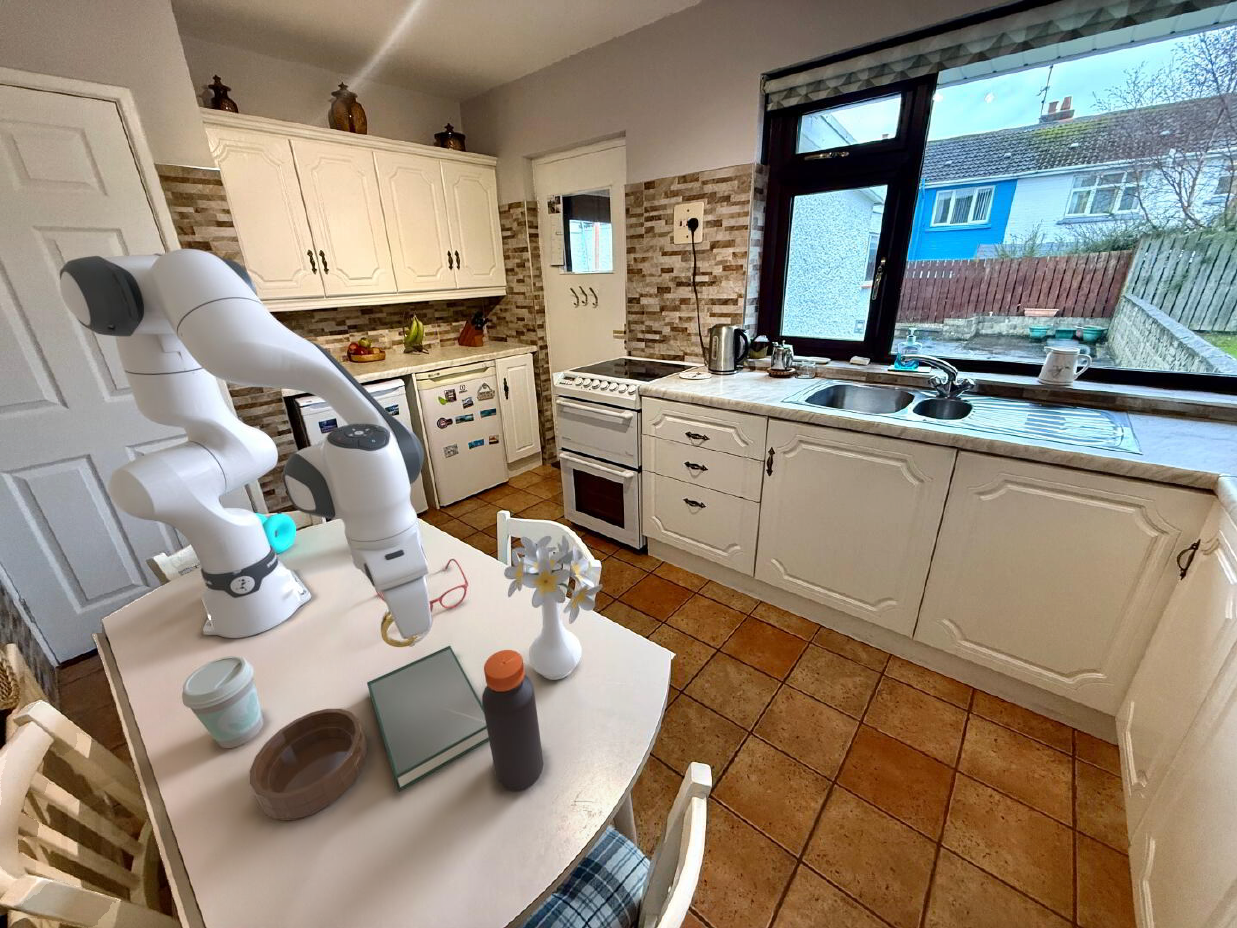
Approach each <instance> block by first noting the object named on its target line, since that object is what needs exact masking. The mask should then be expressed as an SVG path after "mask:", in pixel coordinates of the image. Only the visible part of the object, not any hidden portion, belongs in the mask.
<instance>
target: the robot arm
mask: <svg viewBox="0 0 1237 928" xmlns="http://www.w3.org/2000/svg"><path fill="white" fill-rule="evenodd" d="M59 280H60V282H59V288H60V294H61V297H62V299H63V302H64V304H65V305H66V307H67V308H68V310H69V312H70V313H71V314H72V315H73V316H75V319H77V321H78V322H79V323H80V324H81V325H82V326H83V327H85V328H86V329H88V330H89V331H92V332H94V333H96V334H98V335H101V336H108V337H114V338H115V342H116V343H115V344H116V347H117V351H118V354H119V355H118V356H119V359H120V362H121V365H122V369H123V371H124V374H125V376H126V380H127V382H128V385H129V388H130V391H131V393H132V396H133V399H134V401H135V404H136V406H137V409H138V411H139V412H140V413H141V414H142V415H143V416H144V418H146V419H148V420H149V421H151V422H153V423H156V424H159V425H161V426H167V427H173V428H181V429H184V431H185V433H186V435H187V441H185V442H182V443H179V444H176V445H172V446H169V447H165V448H163V449H160V450H156V451H152V452H149V453H147V454H144V455H141V456H139V457H138V458H135V459H133V460H131V461H129V462H127V463H126V464H124V465H122V466H119V467H118V468H116V469H115V470H113V472H112V473H111V475H110V478H109V483H108V491H109V495H110V497H111V500H112V501H113V503H114V504H115V506H117V507H118V509H120V510H121V511H122V512H124V513H125V514H128V516H129V515H130V516H132V517H134V518H137V519H141V520H144V521H145V520H146V521H154V522H159V523H162V524H166V525H168V526H169V527H172V528H174V529H175V530H177V531H178V532H180V533H181V534H182V535H183V536H184V537H185V538H186V540H187V541H188V543H189V544H190V546H191V548H192V550H193V552H194V554H195V555H196V557H197V560H198V562H199V564H200V566H201V568H200V574H201V577H202V580H203V582H204V583H205V585H206V587H207V588H206V589H205V591H204V593H203V595H202V596H201V601H202V604H203V607H204V609H205V612H206V614H207V619H206V622H205V623H204V624H203V627H202V634H203V635H204V636H221V637H223V638H226V639H227V638H229V639H240V638H246V637H251V636H255V635H258V634H261V633H263V632H266V631H268V630H271V629H273V628H275V627H276V626H279V625H280V624H282V623H284V622H285V621H286V620H287V619H289V618H290V617H291V616H293V615H294V613H295V612H296V611H297V610H298V609H299V608H300V607H301V606H303V605H305V604H306V603H307V602H308V601H310V600H311V599H312V595H311V593H310V591H309V590H308V589H307V587H306V586H305V585H304V583H303V582H302V581H301V580H300V578H299V577H298V575H297V574H296V573H295V571H293V569H287V568H286V566H285V565H284V564H283V563H282V562H281V561H280V560H279V558H278V555H277V553H276V552H275V550H274V549H273V547H272V546H271V545H269V542H268V540H267V537H266V534H265V531H264V529H263V526H262V523H261V520H260V518H259V517H258V516H257V515H256V514H255V513H256V512H253V511H251V510H249V509H247V508H240V507H223V505H222V504H221V502H220V497H221V496H222V495H224V494H227V493H229V492H231V491H234V490H237V489H239V488H241V487H243V486H246V485H248V484H251V483H254V482H255V481H257V480H259V479H260V478H262V477H263V476H265V475H266V474H267V473H269V472H271V471H272V470H274V468H276V466H277V464H278V459H279V452H278V448H277V446H276V443H275V441H274V440H273V439H272V438H271V437H270V436H269V435H268V434H267V433H265V432H264V431H262V430H261V429H259V428H256V427H254V426H250V425H248V424H246V423H244V422H243V421H241V420H240V419H238V417H236V416H235V415H234V414H233V412H232V411H231V409H230V408H229V407H228V405H227V404H226V401H225V400H224V397H223V395H222V391H221V389H220V386H219V383H218V381H217V379H220V380H221V381H224V382H227V383H231V384H233V385H238V386H243V387H250V388H273V389H284V390H291V391H292V390H293V391H298V392H304V393H308V394H311V395H314V396H315V397H318V398H320V399H321V400H323V401H324V402H325V403H327V405H328V406H330V407H331V408H332V410H333V411H334V412H336V414H338V415H339V417H340V418H341V419H342V420H343V421H344V422H345V423H346V425H343V426H339V427H336V428H335V429H332V430H331V431H330V432H328V434H326V436H325V437H324V438H323V441H322V442H319V443H316V444H313V445H310V446H307V447H304V448H301V449H300V450H297V451H296V452H294V453H292V454H290V456H289V457H288V459H287V461H286V463H285V465H284V468H283V471H282V475H281V476H282V477H281V478H282V482H283V485H284V488H285V492H286V493H287V497H288V498H289V500H290V502H291V505H292V506H293V507H294V508H295V509H296V510H297V511H299V512H301V513H304V514H307V515H311V516H314V517H319V518H323V519H329V520H333V519H335V518H338V519H340V520H341V521H342V523H343V525H344V536H345V539H346V543H347V546H348V550H349V554H350V556H351V561H352V564H353V566H354V567H355V568H356V569H357V570H360V572H361V573H362V574H363V575H365V576H366V577H367V579H368V581H370V584H371V585H372V587H373V588H374V590H375V592H376V591H380V592H381V594H382V595H381V594H380V595H381V596H382V597H383V598H384V600H385V602H386V603H385V602H384V603H385V604H386V606H387V610H388V609H389V611H390V613H391V614H390V616H392V618H393V620H394V621H393V623H394V624H395V627H396V629H397V631H398V633H399V635H400V636H401V638H402V639H403V640H408V639H409V638H411V637H416V636H417V635H419V634H421V633H423V632H426V631H428V630H429V629H430V627H431V628H432V626H431V615H432V612H431V611H430V603H429V601H430V596H429V589H428V584H427V579H426V575H428V574H429V572H430V567H429V564H428V560H427V558H426V554H425V552H424V542H423V538H422V533H421V529H420V525H419V520H418V515H417V511H416V510H415V509H414V506H413V505H412V502H411V491H412V488H411V485H412V484H414V483H415V482H416V481H417V480H418V478H419V476H420V474H421V472H422V470H423V469H422V468H423V467H424V466H423V465H424V461H425V450H424V446H423V444H422V443H421V441H420V439H419V437H418V436H417V435H416V434H415V433H414V432H413V431H412V430H411V429H410V428H409V427H408V426H407V425H405V424H404V423H402V422H401V421H399V419H397V418H395V417H394V415H392V414H391V413H390V412H389V411H388V410H386V409H385V408H384V406H382V405H381V403H380V402H378V400H377V399H376V398H375V397H374V396H373V395H372V394H371V393H370V392H369V391H368V390H367V389H366V388H365V387H364V386H363V385H362V384H361V383H360V382H359V381H358V380H357V379H356V378H355V376H353V375H352V373H350V372H349V371H348V370H347V368H345V367H344V365H342V364H341V362H339V361H338V360H337V358H336V357H334V356H333V355H332V354H331V353H330V352H329V351H328V350H326V349H325V348H324V347H323V346H321V344H320V345H319V344H318V343H316V342H313V341H312V340H311V341H310V340H308V339H306V338H304V337H302V336H300V335H299V334H297V333H296V332H293V331H292V330H290V329H289V328H288V327H286V326H285V325H284V324H283V323H282V322H280V321H279V320H277V318H276V317H274V315H273V314H271V312H270V311H269V310H268V308H267V307H266V306H265V304H264V303H263V302H262V301H261V299H260V298H259V296H258V291H257V288H256V286H255V283H254V280H253V279H252V277H251V275H250V274H249V273H248V271H247V270H246V269H245V268H244V267H243V266H242V265H241V264H240V263H239V262H237V261H235V260H233V259H230V258H226V257H221V256H216V255H215V254H213V253H210V252H209V251H205V250H201V249H195V248H180V249H179V248H178V249H174V250H170V251H169V252H166V253H157V252H155V253H153V254H135V255H134V254H133V255H118V256H108V257H102V256H100V255H91V256H84V257H78V258H75V259H70V260H68V261H67V262H66V263H65V264H64V265H63V267H62V268H61V269H60V271H59ZM276 514H283V513H282V511H281V510H278V511H277V512H276ZM430 630H431V629H430Z"/></svg>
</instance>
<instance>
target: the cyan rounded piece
mask: <svg viewBox="0 0 1237 928" xmlns="http://www.w3.org/2000/svg"><path fill="white" fill-rule="evenodd" d="M254 513H255V514H256V515H257V516H258V517H259V518H260V520H261V523H262V526H263V529H264V531H265V534H266V537H267V540H268V542H269V545H271V546H272V547H273V549H274V550H275V552H276V554H281V553H284V552H285V551H287V550H288V549H290V547H291V546H292V545H293V543H294V541H295V539H296V535H297V527H296V523H295V521H294V520H293V518H292V517H290V516H289V515H287V514H285V513H282V514H277V513H276V514H273V515H270V516H269V517H266V516H265V515H264V514H262V513H259V512H254Z"/></svg>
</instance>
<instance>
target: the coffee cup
mask: <svg viewBox="0 0 1237 928" xmlns="http://www.w3.org/2000/svg"><path fill="white" fill-rule="evenodd" d="M254 673H255V668H254V666H253V665H252V664H251V663H250V662H249V661H247V660H246V659H244V658H243V657H241V656H237V655H230V656H224V657H220V658H217V659H214V660H212V661H210V662H207V663H205V664H204V665H202V666H200V667H199V668H198V669H196V670H195V671H193V672H192V673H191V674H190V675H189V676H188V677H187V678H186V680H185V681H184V683H183V685H182V693H181V700H182V704H183V706H185V707H186V708H188V709H190V710H191V712H192V713H193V714H194V715H195V717H196V718H197V719H198V720H199V721H200V722H201V724H202V725H203V727H204V728H205V729H206V730H207V732H208V733H209V735H211V737H212V738H213V739H214V740H215V742H216V743H217V745H219V747H220V748H223V749H234V748H237V747H240V746H242V745H244V744H246V743H247V742H249V741H250V740H252V739H253V738H254V737H256V735H258V733H259V732H260V731H261V730H262V728H263V726H264V718H263V713H262V709H261V703H260V700H259V697H258V696H259V695H258V692H257V687H256V685H255V680H254Z"/></svg>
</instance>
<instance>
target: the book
mask: <svg viewBox="0 0 1237 928" xmlns="http://www.w3.org/2000/svg"><path fill="white" fill-rule="evenodd" d="M366 684H367V688H368V691H369V694H370V699H371V702H372V706H373V708H374V713H375V716H376V719H377V722H378V726H379V729H380V733H381V736H382V739H383V743H384V746H385V750H386V753H387V757H388V760H389V763H390V767H391V771H392V773H393V776H394V780H395V784H396V787H397V790H398V792H401V791H403V790H404V789H406V788H408V787H411V785H413V784H415V783H417V782H418V781H420V780H423V779H424V778H425V777H427V776H429V775H430V774H432V773H434V772H436V771H438V770H440V769H441V768H443V767H444V766H447V765H448V764H450V763H452V762H453V761H455V760H457V759H459V758H461V757H462V756H464V755H466V754H467V753H469V752H471V751H472V750H474V749H476V748H478V747H479V746H482V745H484V744H485V743H487V742H489V737H488V732H487V726H486V721H485V716H484V710H483V705H482V701H481V700H480V698H479V696H478V694H477V693H476V691H475V688H474V687H473V685H472V683H471V681H470V679H469V678H468V676H467V674H466V672H465V670H464V669H463V667H462V665H461V663H460V661H459V659H458V657H457V656H456V654H455V652H454V650H453V648H452V645H448V646H446V647H444V648H441V649H438V650H437V651H434V652H432V653H430V654H428V655H426V656H423V657H421V658H419V659H416V660H414V661H412V662H410V663H408V664H405V665H403V666H400V667H399V668H397V669H394V670H392V671H390V672H387V673H385V674H383V675H380V676H379V677H376V678H374V679H372V680H369V681H367V682H366Z"/></svg>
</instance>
